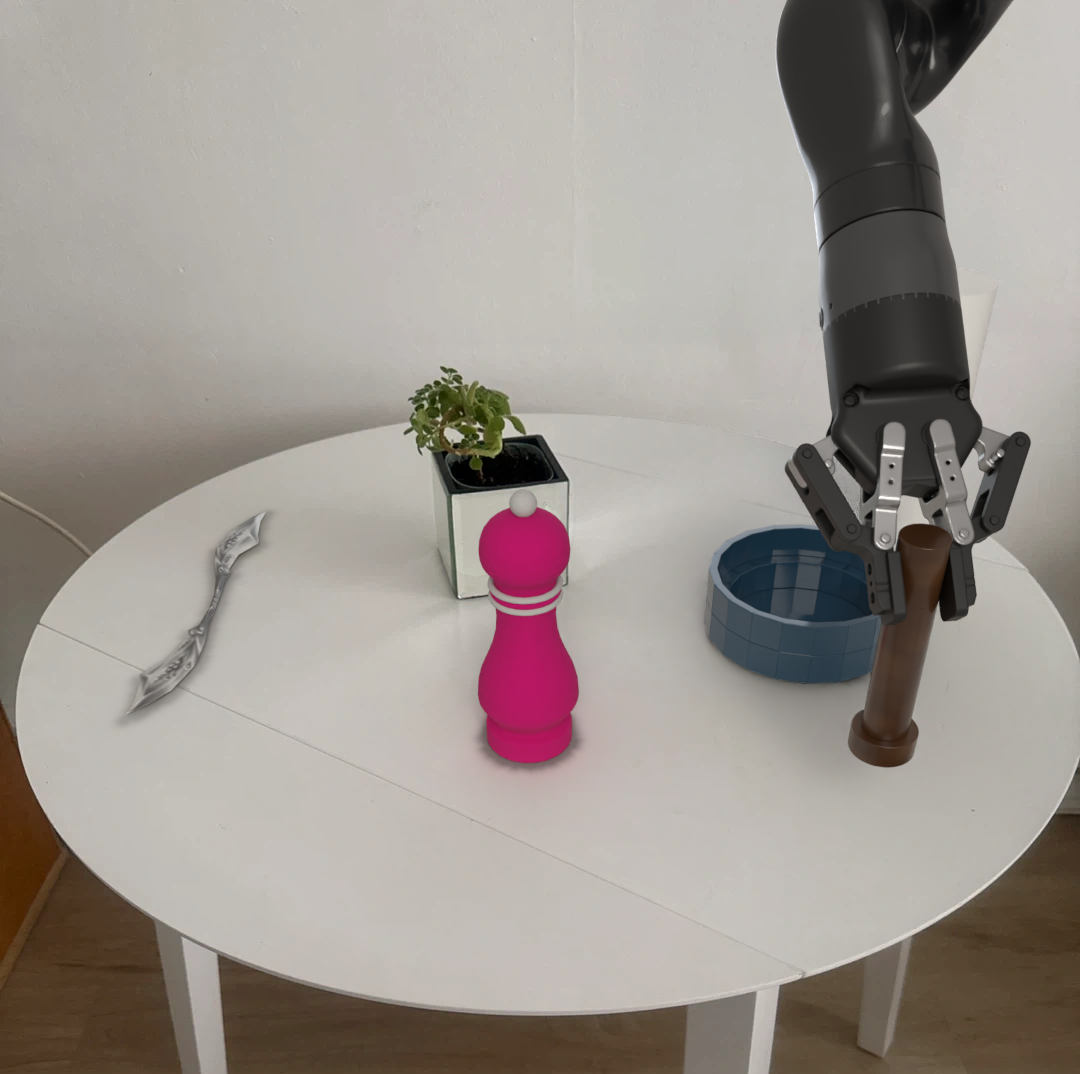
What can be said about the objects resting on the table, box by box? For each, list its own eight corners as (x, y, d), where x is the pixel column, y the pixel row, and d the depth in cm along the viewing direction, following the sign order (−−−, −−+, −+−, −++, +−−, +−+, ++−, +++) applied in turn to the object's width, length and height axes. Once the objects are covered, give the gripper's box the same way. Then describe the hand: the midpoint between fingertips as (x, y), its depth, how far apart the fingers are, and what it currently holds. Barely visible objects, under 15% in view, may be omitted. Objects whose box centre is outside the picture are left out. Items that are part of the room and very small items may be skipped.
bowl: (897, 597, 99) (910, 536, 95) (892, 704, 88) (907, 639, 84) (718, 575, 102) (724, 515, 99) (690, 675, 91) (696, 611, 87)
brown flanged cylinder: (914, 731, 73) (963, 522, 63) (913, 772, 70) (964, 558, 60) (849, 722, 73) (888, 514, 64) (845, 762, 70) (885, 549, 61)
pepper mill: (530, 694, 89) (524, 454, 77) (598, 736, 85) (604, 490, 73) (460, 737, 85) (441, 491, 73) (528, 782, 81) (521, 531, 69)
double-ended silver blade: (120, 717, 88) (185, 718, 87) (118, 711, 87) (183, 711, 87) (223, 513, 113) (273, 513, 112) (222, 507, 112) (272, 507, 112)
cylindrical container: (852, 583, 101) (903, 294, 85) (848, 542, 107) (896, 263, 91) (936, 589, 100) (1004, 298, 84) (928, 548, 106) (991, 267, 90)
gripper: (785, 293, 61) (818, 615, 59) (1043, 280, 62) (1084, 597, 60) (752, 354, 68) (781, 642, 67) (983, 342, 69) (1018, 625, 67)
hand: (925, 619), depth 63 cm, fingers closed on brown flanged cylinder, 3 cm apart
